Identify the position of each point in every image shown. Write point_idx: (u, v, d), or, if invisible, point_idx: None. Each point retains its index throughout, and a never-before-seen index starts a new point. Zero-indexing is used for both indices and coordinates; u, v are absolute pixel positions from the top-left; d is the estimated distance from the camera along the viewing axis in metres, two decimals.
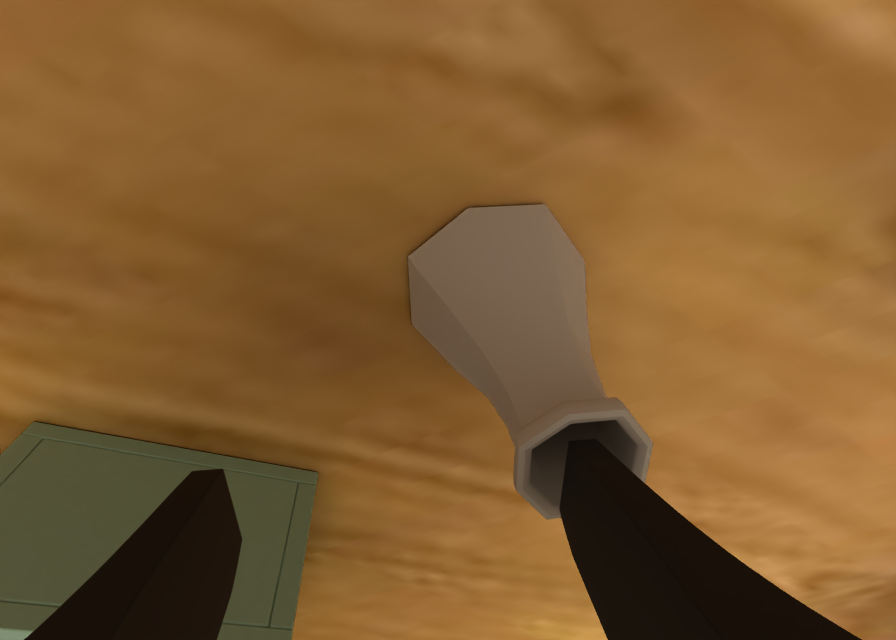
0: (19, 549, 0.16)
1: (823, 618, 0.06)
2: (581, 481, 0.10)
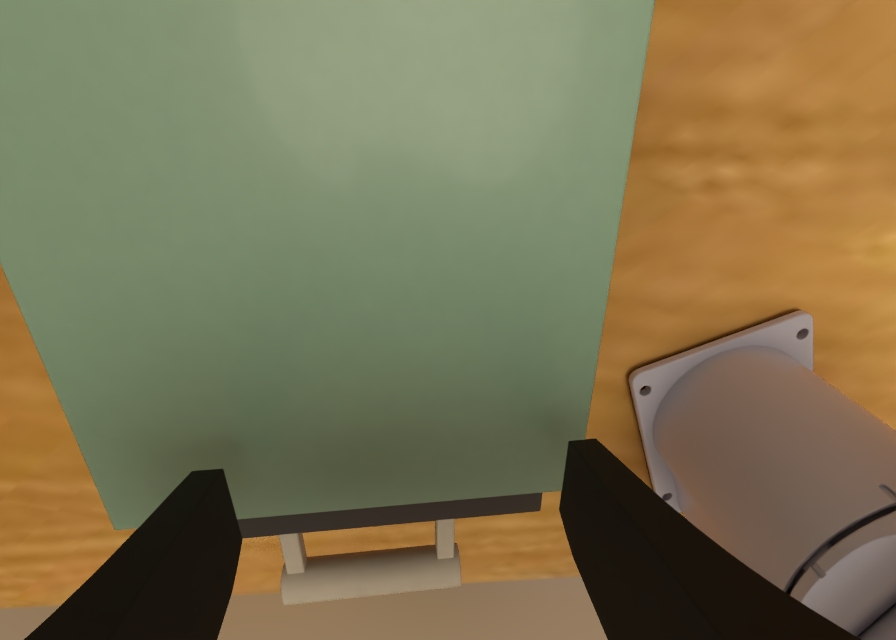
0: None
1: (823, 618, 0.06)
2: (581, 481, 0.10)
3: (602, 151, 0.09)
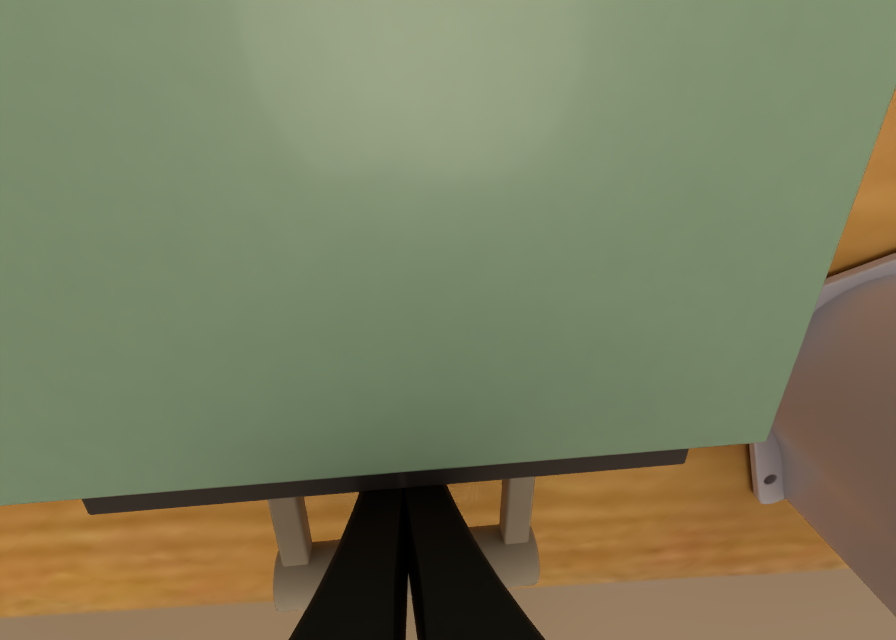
0: None
1: None
2: None
3: None
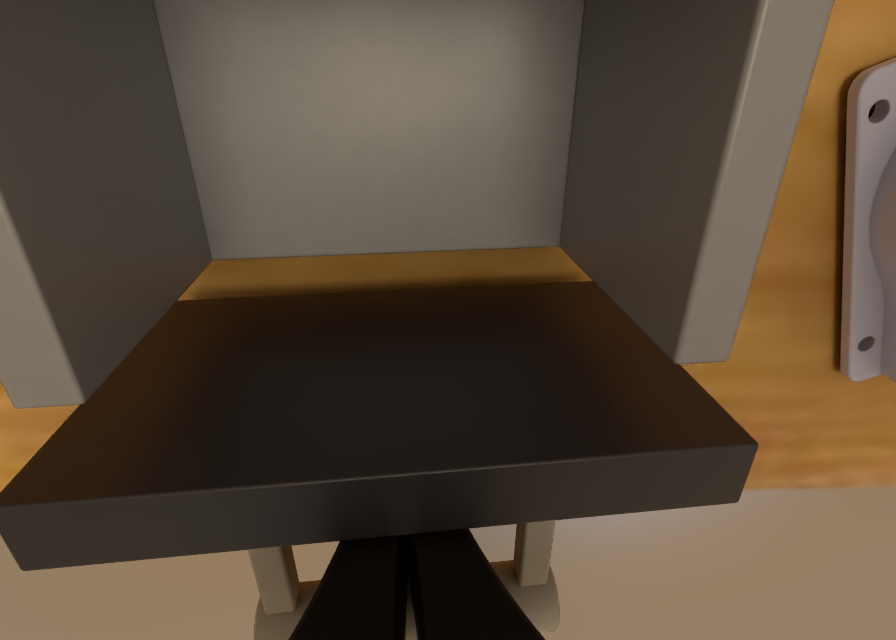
0: None
1: None
2: None
3: None
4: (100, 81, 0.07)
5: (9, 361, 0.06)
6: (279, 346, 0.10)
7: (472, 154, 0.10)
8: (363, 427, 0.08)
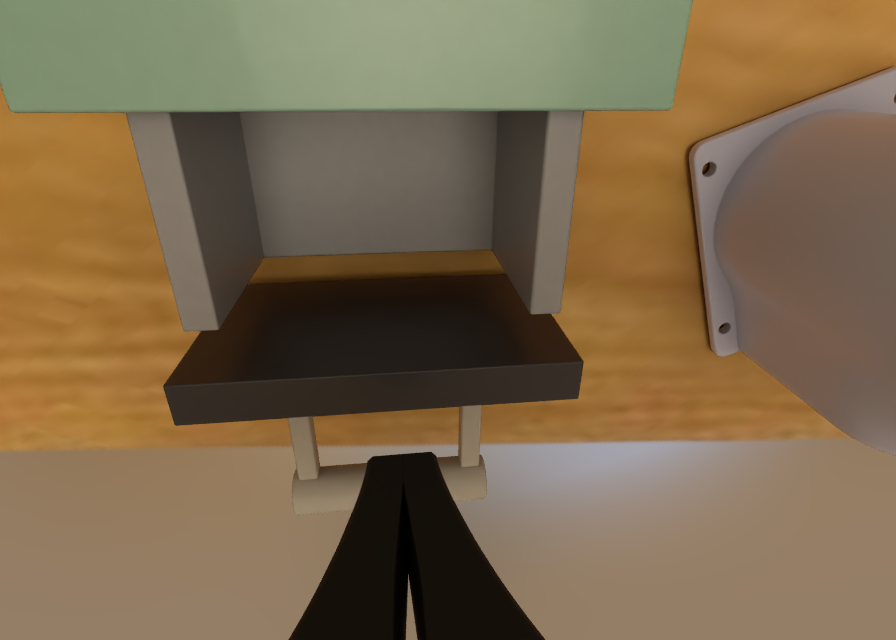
0: None
1: None
2: None
3: None
4: (220, 159, 0.12)
5: (185, 306, 0.11)
6: (308, 312, 0.15)
7: (431, 190, 0.16)
8: (361, 353, 0.13)
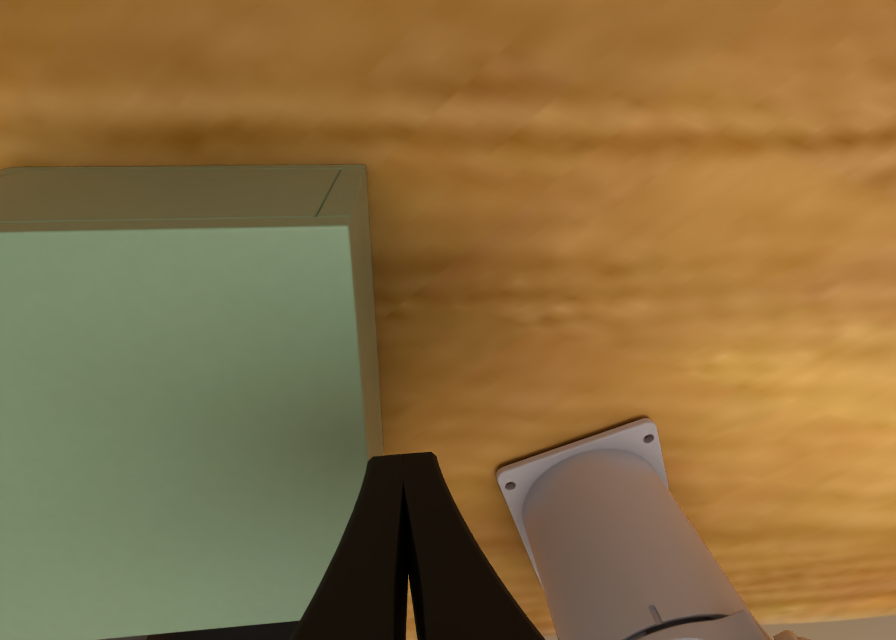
0: None
1: None
2: None
3: (337, 387, 0.12)
4: None
5: None
6: None
7: None
8: None
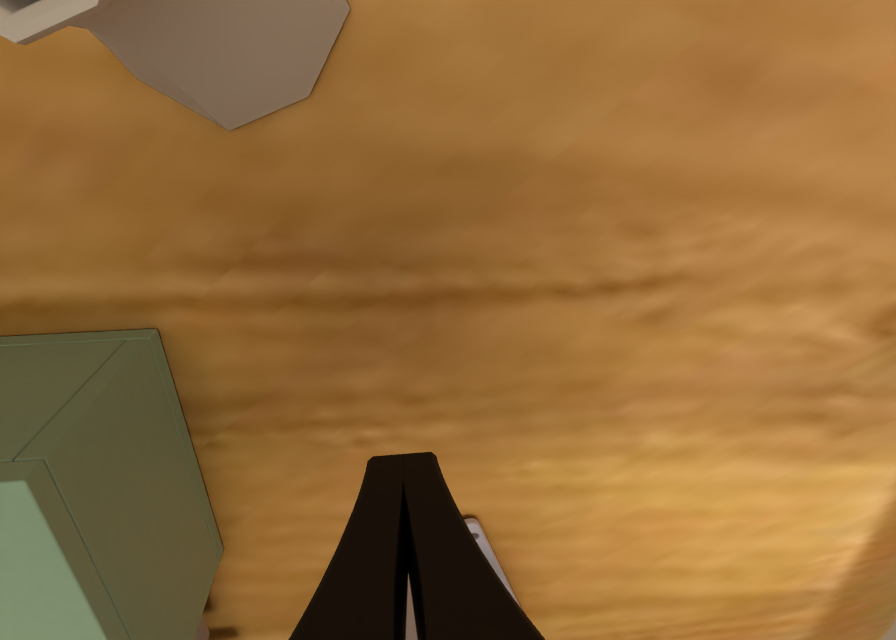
0: None
1: None
2: None
3: (56, 589, 0.14)
4: None
5: None
6: None
7: None
8: None
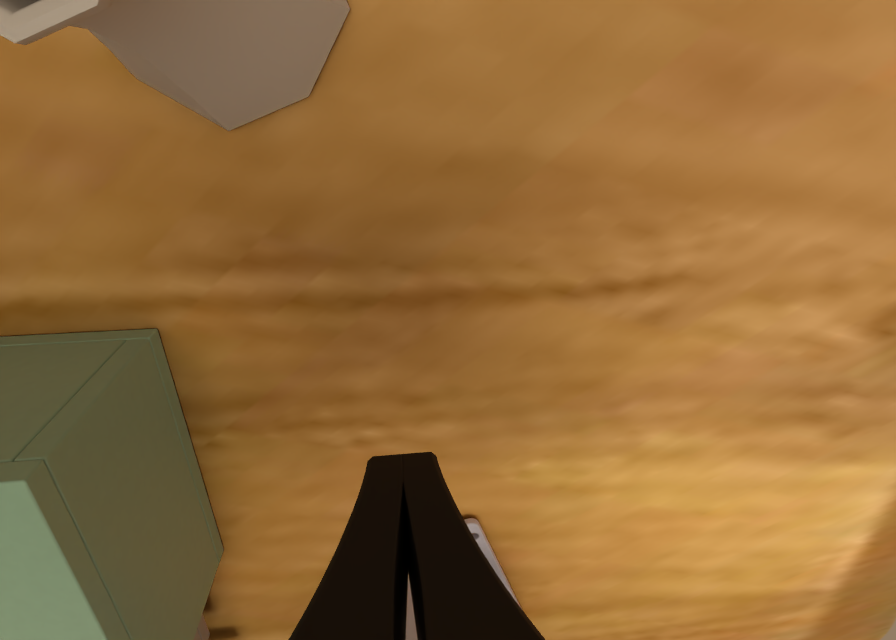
0: None
1: None
2: None
3: (56, 589, 0.14)
4: None
5: None
6: None
7: None
8: None
